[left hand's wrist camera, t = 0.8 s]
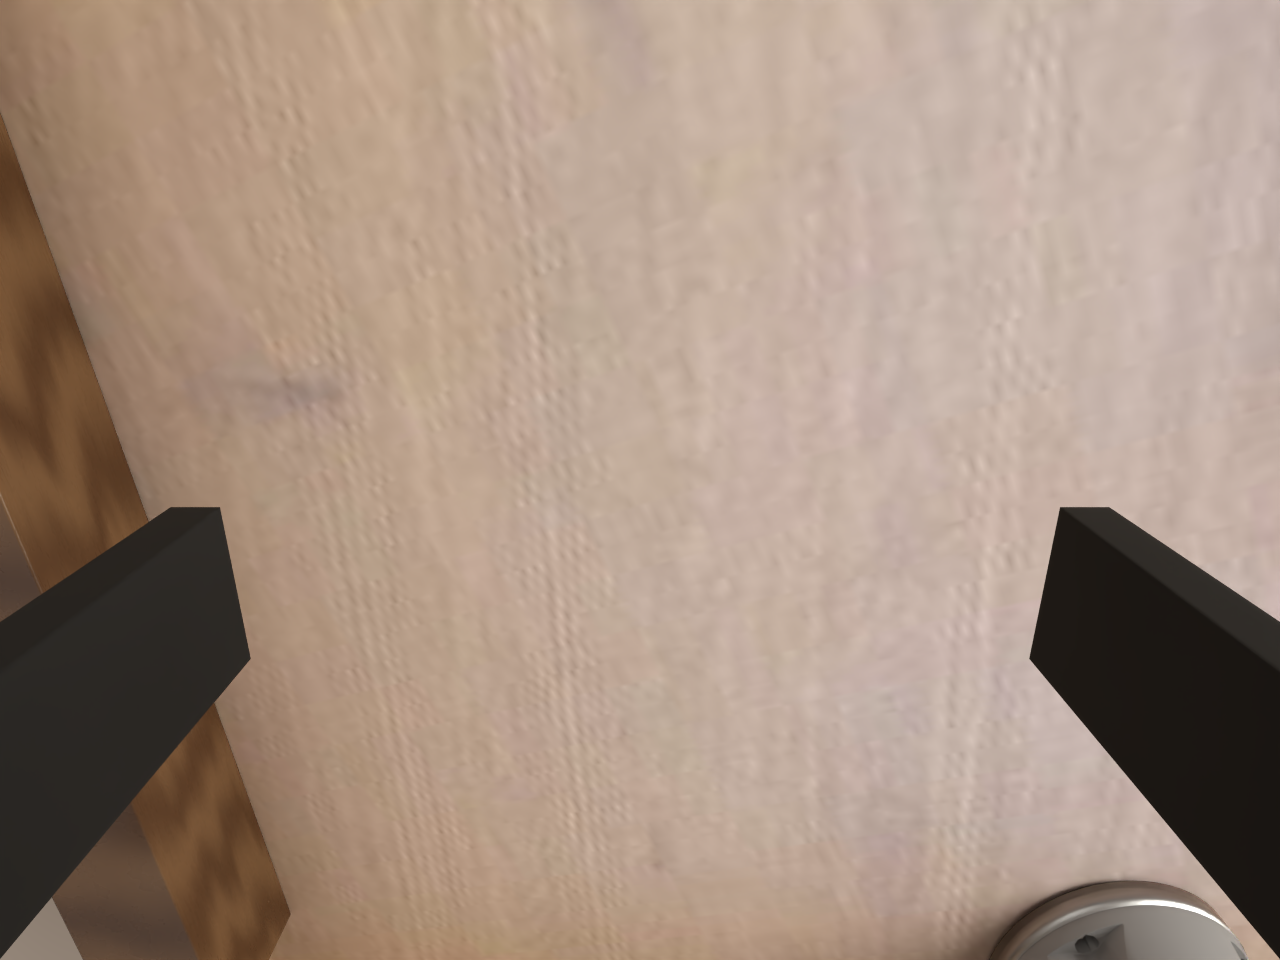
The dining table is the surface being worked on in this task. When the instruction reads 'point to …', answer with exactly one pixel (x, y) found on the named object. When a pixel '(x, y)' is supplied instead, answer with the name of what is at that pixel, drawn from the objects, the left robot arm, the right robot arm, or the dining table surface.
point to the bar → (54, 549)
